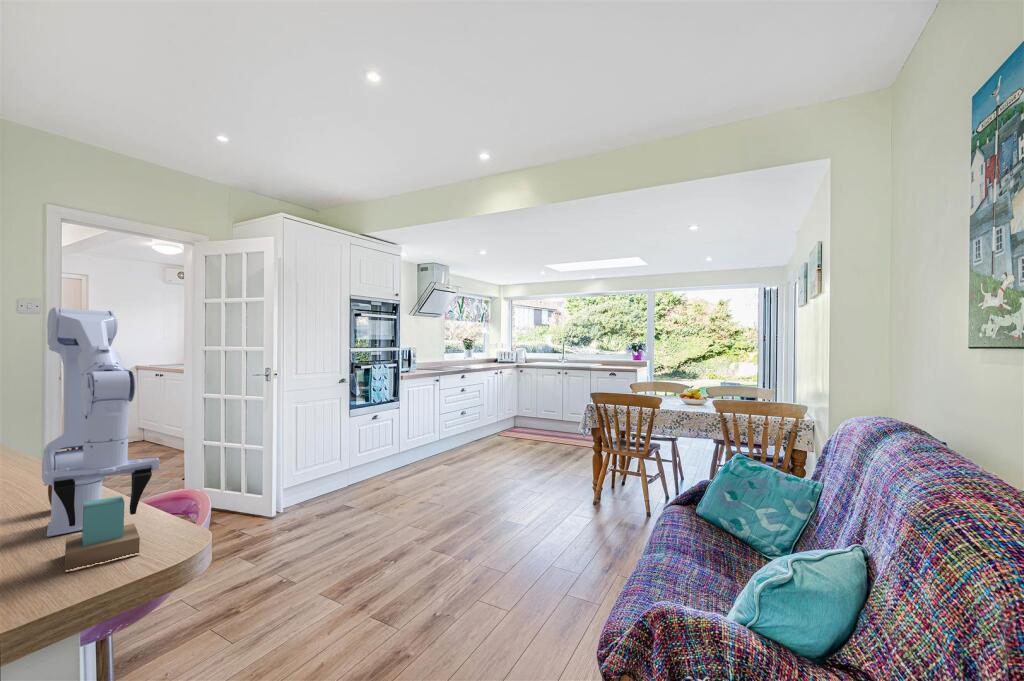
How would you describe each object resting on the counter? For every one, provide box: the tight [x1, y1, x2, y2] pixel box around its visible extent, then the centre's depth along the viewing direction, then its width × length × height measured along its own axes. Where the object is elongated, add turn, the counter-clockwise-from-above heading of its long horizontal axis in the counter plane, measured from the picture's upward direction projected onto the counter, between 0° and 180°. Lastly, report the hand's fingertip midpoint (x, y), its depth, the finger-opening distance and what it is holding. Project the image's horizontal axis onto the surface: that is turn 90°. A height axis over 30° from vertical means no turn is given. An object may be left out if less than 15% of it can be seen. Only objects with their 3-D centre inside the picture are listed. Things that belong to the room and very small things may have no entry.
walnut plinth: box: [64, 523, 141, 571], centre depth 76 cm, size 9×9×3 cm
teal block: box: [81, 495, 125, 546], centre depth 76 cm, size 5×5×6 cm
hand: (103, 518), depth 76 cm, fingers open, 7 cm apart
